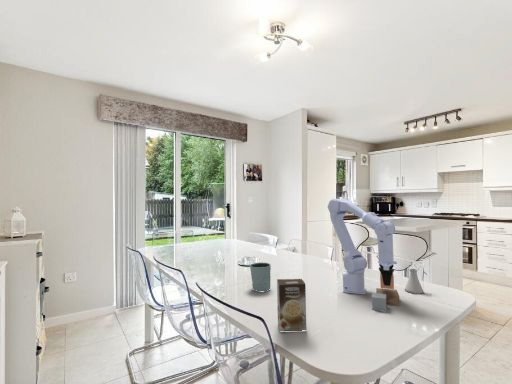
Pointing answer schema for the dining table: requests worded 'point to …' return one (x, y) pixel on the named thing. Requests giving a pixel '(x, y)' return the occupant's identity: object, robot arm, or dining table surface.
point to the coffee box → (291, 304)
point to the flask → (413, 283)
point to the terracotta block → (385, 285)
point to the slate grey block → (379, 302)
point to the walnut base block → (390, 296)
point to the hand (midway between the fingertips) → (387, 283)
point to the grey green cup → (260, 276)
